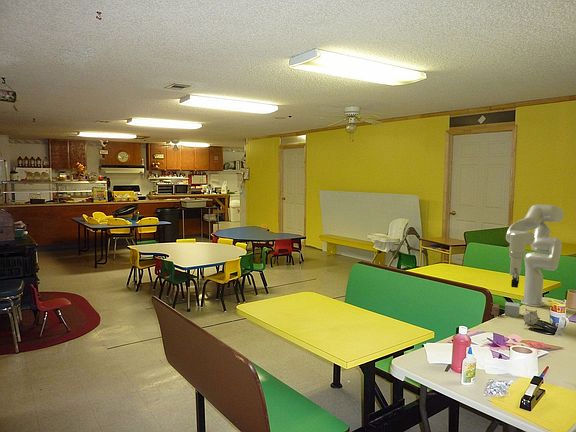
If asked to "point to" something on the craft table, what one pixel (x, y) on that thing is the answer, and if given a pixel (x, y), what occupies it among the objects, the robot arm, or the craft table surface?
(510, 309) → the grey block
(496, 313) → the walnut block
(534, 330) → the craft table surface
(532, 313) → the grey spiky ball
